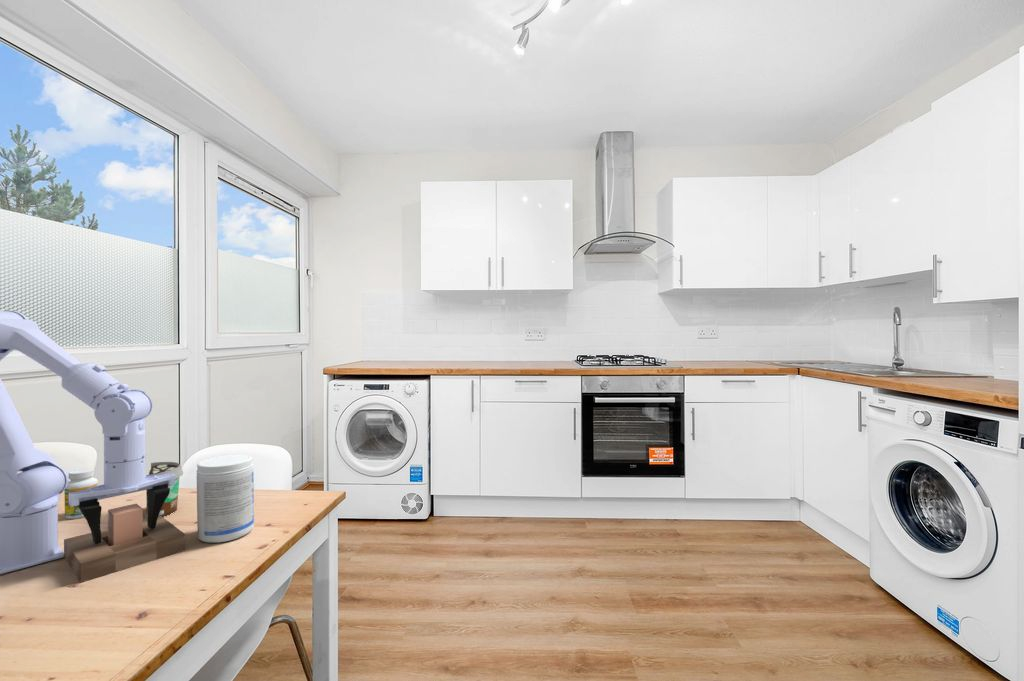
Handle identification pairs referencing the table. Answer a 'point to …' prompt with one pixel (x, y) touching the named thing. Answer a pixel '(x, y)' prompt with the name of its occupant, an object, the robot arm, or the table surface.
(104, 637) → the table surface
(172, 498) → the food container
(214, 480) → the supplement tub
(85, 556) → the walnut stand board
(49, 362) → the robot arm
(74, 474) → the supplement bottle
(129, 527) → the terracotta peg
